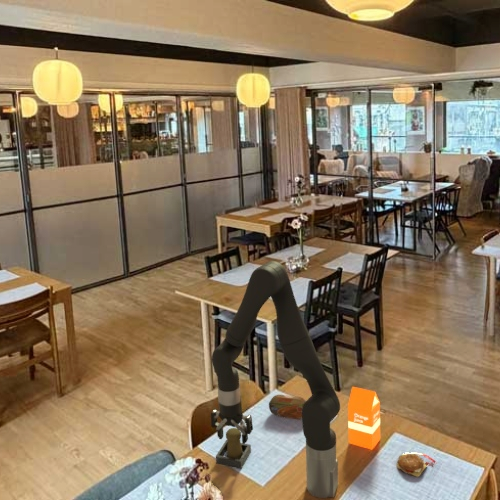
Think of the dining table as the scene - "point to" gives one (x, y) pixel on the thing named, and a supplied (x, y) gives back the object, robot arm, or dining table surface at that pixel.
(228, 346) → the robot arm
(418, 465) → the hamburger
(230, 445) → the cork
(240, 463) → the steel collar
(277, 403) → the tin
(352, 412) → the orange juice
